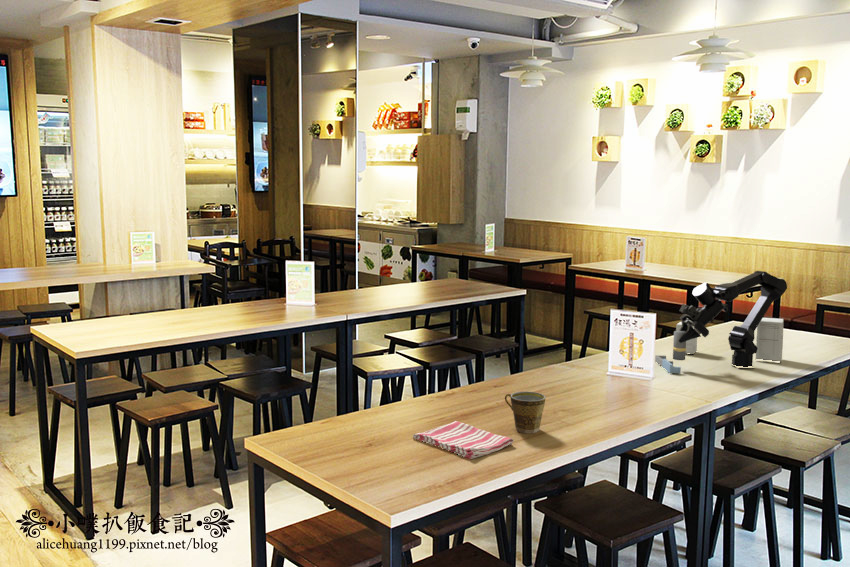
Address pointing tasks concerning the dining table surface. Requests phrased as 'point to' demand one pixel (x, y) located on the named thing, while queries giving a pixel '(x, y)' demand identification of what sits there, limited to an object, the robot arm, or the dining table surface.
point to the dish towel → (464, 439)
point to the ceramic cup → (527, 410)
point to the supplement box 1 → (690, 344)
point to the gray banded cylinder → (679, 346)
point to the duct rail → (667, 364)
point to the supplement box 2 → (770, 339)
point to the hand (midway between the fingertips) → (677, 340)
